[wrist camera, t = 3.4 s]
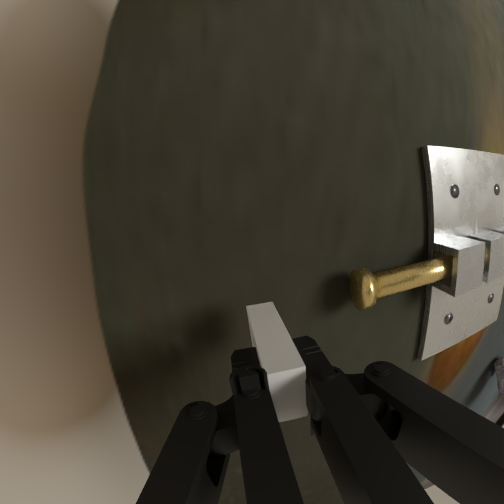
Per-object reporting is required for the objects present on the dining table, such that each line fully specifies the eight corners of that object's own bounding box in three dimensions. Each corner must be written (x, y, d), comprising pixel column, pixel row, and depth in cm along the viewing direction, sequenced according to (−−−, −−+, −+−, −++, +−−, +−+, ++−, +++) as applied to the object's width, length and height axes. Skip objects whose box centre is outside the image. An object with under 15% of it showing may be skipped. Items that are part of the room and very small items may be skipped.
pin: (348, 265, 19) (367, 276, 16) (479, 236, 20) (499, 241, 17) (349, 301, 19) (366, 316, 17) (477, 263, 21) (496, 270, 18)
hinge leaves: (421, 146, 18) (452, 141, 14) (500, 155, 19) (524, 154, 15) (417, 356, 22) (438, 375, 19) (492, 317, 23) (512, 328, 20)
